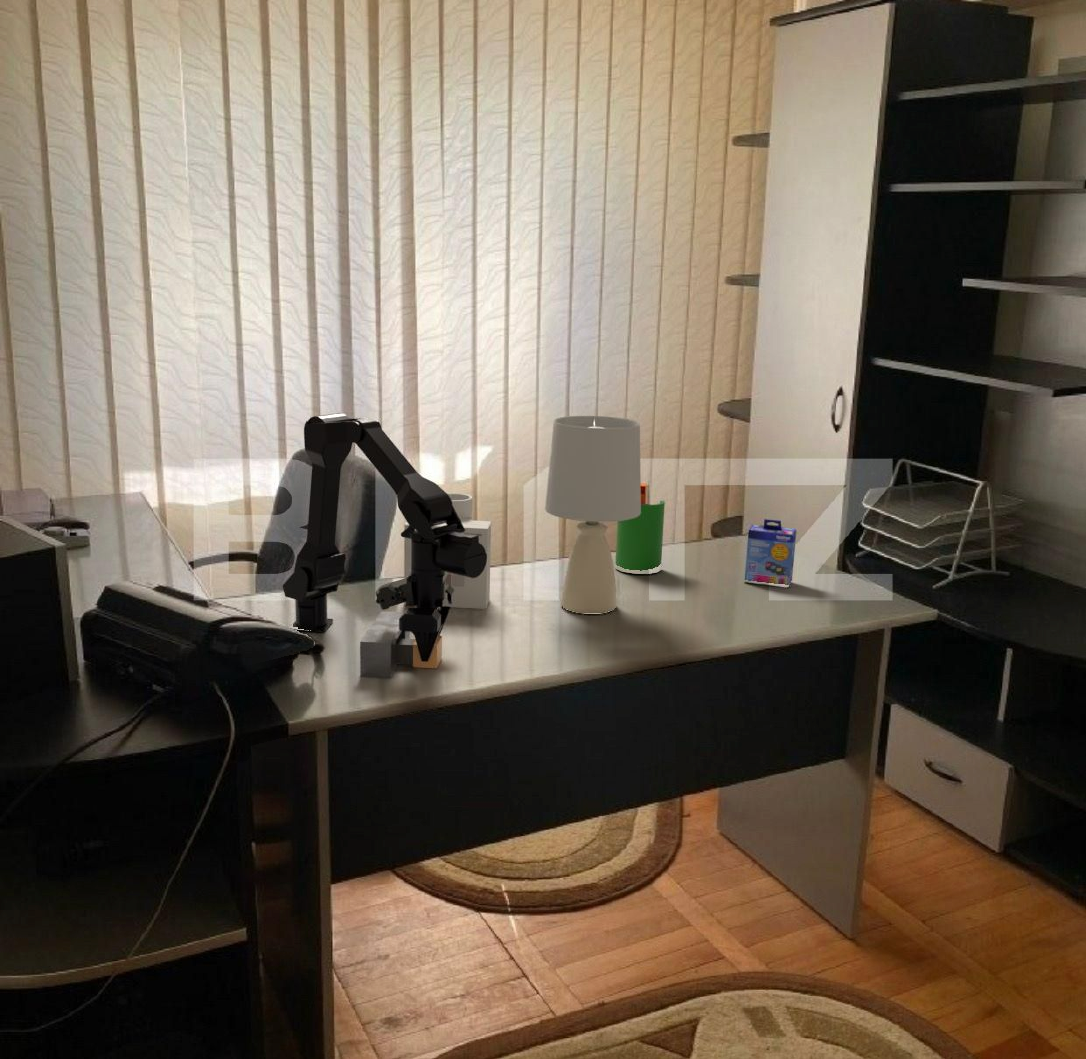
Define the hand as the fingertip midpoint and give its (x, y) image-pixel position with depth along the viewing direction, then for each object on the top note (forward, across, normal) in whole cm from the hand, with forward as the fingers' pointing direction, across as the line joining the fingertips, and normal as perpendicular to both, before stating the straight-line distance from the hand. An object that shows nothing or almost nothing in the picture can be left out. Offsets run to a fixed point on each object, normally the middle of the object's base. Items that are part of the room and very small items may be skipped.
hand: (427, 655), depth 190 cm
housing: (+1, 0, -7) cm, 7 cm away
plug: (+1, 0, -4) cm, 4 cm away
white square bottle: (+1, -40, -2) cm, 40 cm away
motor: (+2, -65, +36) cm, 74 cm away
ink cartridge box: (+2, -60, +64) cm, 88 cm away
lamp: (+2, -36, +26) cm, 44 cm away
